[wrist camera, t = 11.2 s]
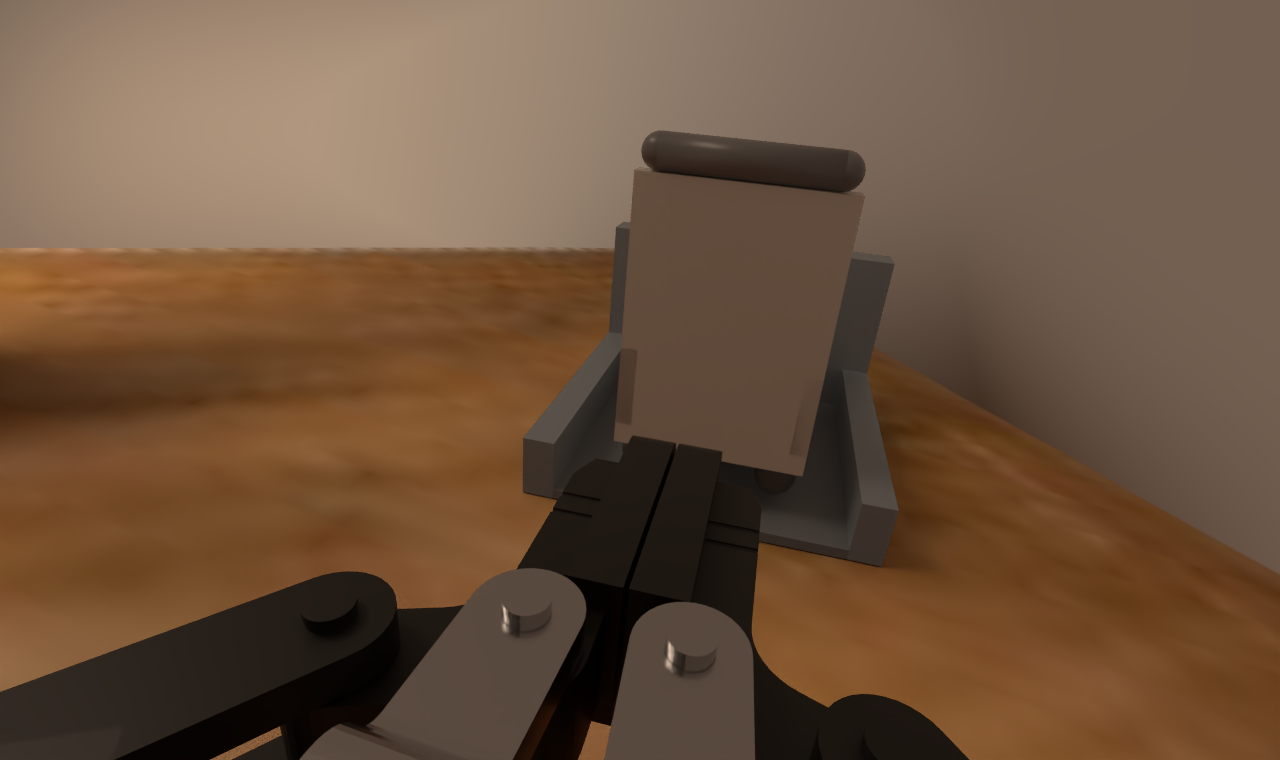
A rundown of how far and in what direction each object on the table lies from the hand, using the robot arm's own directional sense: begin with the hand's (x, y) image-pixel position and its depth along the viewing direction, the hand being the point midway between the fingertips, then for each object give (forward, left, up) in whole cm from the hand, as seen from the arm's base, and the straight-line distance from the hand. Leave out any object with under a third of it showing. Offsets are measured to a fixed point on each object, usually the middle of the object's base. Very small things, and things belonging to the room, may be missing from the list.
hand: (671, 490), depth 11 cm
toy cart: (+8, +14, -8) cm, 18 cm away
